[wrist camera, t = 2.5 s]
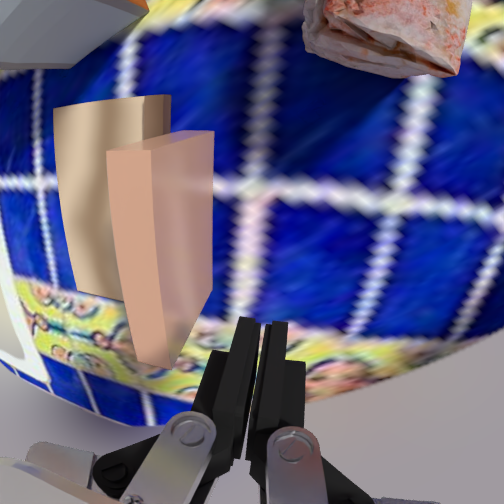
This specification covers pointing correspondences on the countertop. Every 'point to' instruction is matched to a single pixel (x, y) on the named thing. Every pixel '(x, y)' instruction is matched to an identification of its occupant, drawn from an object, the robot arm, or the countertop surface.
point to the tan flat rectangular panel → (92, 185)
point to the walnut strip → (157, 115)
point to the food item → (389, 35)
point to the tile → (163, 237)
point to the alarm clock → (60, 30)
